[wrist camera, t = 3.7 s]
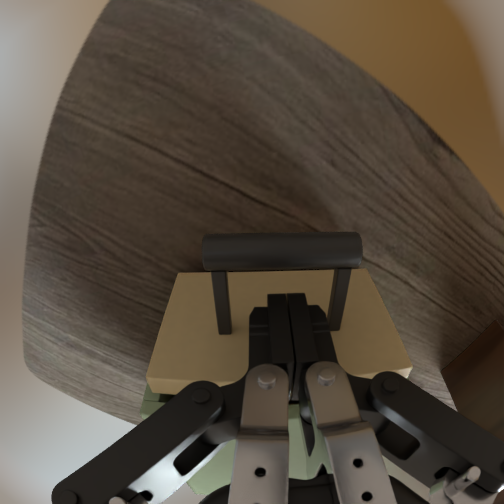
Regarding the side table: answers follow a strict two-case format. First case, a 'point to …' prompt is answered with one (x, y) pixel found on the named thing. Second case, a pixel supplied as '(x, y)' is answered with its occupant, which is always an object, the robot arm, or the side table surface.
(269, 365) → the robot arm
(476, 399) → the stand
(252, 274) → the drawer
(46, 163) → the side table surface
